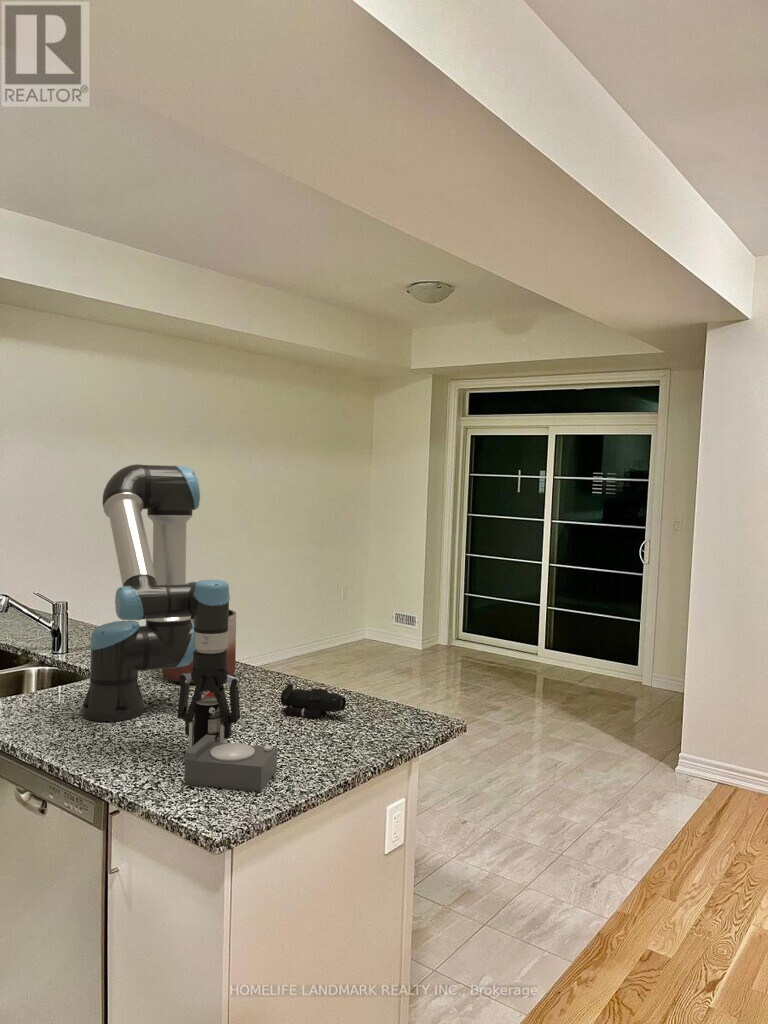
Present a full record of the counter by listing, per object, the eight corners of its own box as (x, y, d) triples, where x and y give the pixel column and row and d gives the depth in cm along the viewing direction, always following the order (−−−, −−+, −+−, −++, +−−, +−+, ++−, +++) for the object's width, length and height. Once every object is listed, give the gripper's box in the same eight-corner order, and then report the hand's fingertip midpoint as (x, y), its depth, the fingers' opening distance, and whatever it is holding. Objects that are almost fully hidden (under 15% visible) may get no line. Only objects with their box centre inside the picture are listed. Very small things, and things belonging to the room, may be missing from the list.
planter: (249, 675, 237) (251, 612, 237) (197, 690, 219) (199, 622, 218) (199, 664, 249) (201, 604, 248) (146, 677, 231) (148, 612, 230)
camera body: (184, 784, 152) (185, 752, 152) (205, 764, 163) (206, 734, 163) (260, 791, 150) (261, 759, 150) (276, 770, 161) (277, 740, 160)
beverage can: (195, 747, 173) (196, 695, 172) (224, 747, 173) (225, 696, 173) (190, 758, 166) (191, 704, 166) (220, 758, 167) (222, 704, 166)
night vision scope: (343, 727, 198) (333, 711, 191) (282, 720, 203) (269, 704, 196) (350, 699, 203) (341, 682, 195) (290, 693, 208) (278, 676, 200)
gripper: (162, 650, 166) (159, 752, 167) (246, 656, 164) (243, 760, 165) (176, 643, 174) (173, 741, 175) (257, 648, 171) (254, 748, 172)
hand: (207, 750), depth 170 cm, fingers closed on beverage can, 7 cm apart
